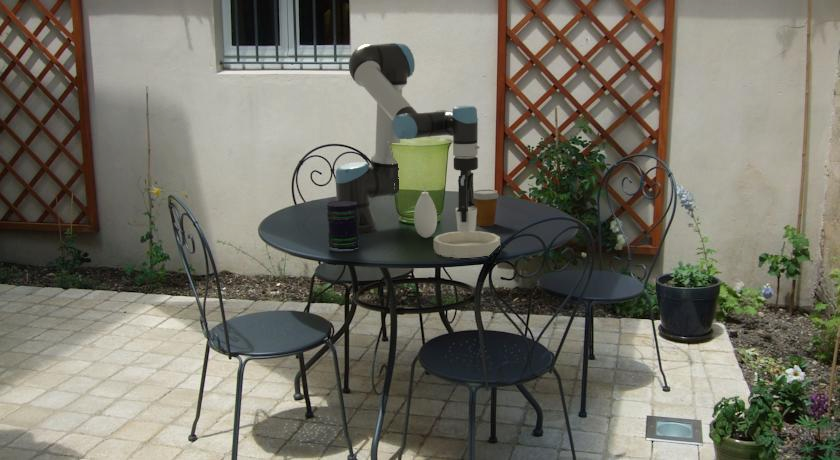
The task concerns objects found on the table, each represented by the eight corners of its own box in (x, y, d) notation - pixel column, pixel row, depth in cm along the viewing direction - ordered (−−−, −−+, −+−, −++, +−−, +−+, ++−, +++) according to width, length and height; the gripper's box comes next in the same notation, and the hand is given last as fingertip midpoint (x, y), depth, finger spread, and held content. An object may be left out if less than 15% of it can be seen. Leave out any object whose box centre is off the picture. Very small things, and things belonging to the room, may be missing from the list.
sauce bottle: (414, 234, 303) (413, 183, 299) (437, 234, 303) (436, 182, 299) (414, 240, 296) (412, 186, 292) (437, 239, 295) (436, 186, 292)
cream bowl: (428, 257, 272) (428, 244, 271) (441, 242, 291) (441, 230, 291) (494, 259, 267) (494, 246, 267) (503, 243, 287) (503, 231, 286)
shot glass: (462, 233, 274) (462, 211, 272) (451, 229, 279) (451, 207, 278) (481, 230, 277) (481, 208, 275) (470, 226, 283) (470, 205, 281)
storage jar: (334, 253, 280) (332, 207, 277) (324, 247, 289) (322, 202, 286) (363, 249, 284) (361, 204, 281) (353, 243, 293) (351, 199, 289)
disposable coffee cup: (497, 227, 311) (497, 194, 308) (470, 227, 313) (469, 193, 310) (500, 222, 320) (500, 189, 318) (474, 221, 322) (473, 189, 319)
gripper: (472, 161, 263) (473, 236, 268) (482, 152, 282) (483, 223, 287) (447, 161, 264) (448, 236, 269) (459, 152, 283) (460, 222, 288)
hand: (466, 229), depth 278 cm, fingers closed on shot glass, 7 cm apart
